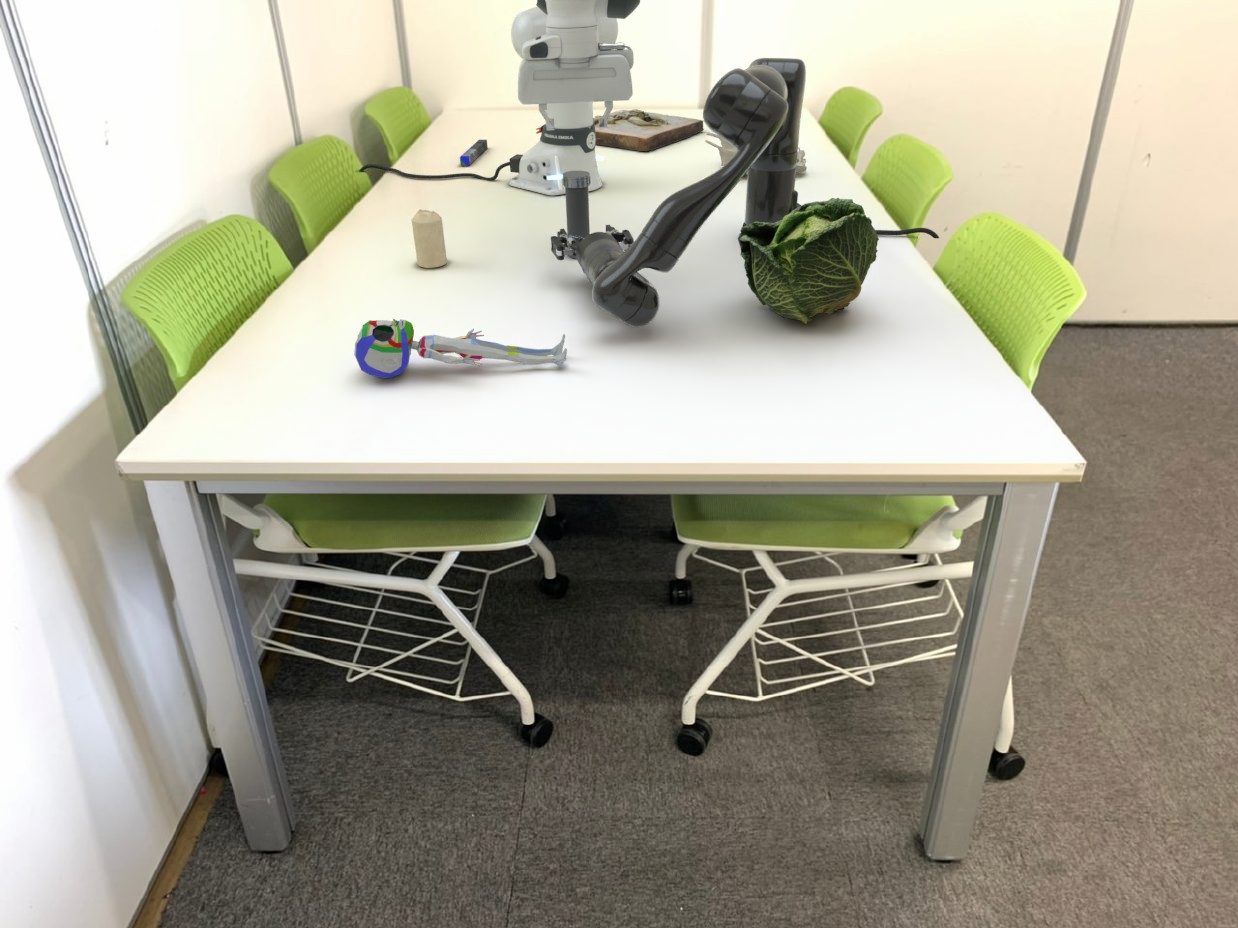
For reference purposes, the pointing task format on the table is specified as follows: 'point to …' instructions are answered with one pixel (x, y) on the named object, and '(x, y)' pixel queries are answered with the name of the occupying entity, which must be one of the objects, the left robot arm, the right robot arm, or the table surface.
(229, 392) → the table surface
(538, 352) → the toy
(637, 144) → the plaque
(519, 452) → the table surface
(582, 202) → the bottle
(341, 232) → the table surface
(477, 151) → the blue-capped grey bar
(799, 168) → the anatomical model
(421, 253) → the candle
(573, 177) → the lid
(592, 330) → the table surface
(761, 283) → the vegetable
